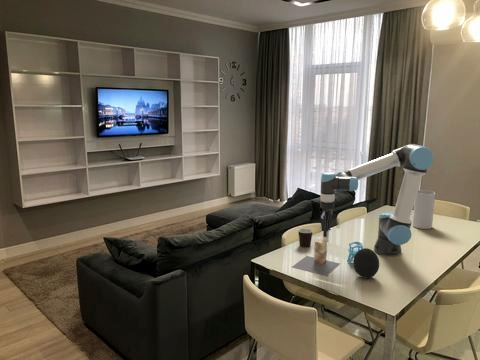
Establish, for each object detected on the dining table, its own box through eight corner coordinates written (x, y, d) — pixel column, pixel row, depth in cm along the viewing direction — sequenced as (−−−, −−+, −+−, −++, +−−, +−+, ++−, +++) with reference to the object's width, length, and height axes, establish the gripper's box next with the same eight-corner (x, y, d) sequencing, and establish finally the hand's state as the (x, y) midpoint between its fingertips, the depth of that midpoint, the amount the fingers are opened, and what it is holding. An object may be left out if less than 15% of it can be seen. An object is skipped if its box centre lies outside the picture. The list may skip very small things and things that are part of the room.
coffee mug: (308, 249, 233) (309, 234, 231) (295, 247, 237) (296, 231, 235) (316, 244, 242) (316, 228, 241) (303, 241, 247) (303, 226, 245)
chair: (345, 260, 217) (346, 240, 214) (360, 260, 216) (361, 240, 214) (349, 266, 209) (349, 245, 207) (364, 266, 209) (365, 245, 207)
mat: (340, 264, 211) (340, 263, 211) (326, 277, 196) (326, 276, 196) (306, 256, 223) (306, 255, 222) (291, 268, 207) (291, 267, 207)
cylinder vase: (433, 225, 276) (436, 191, 271) (430, 230, 266) (434, 195, 261) (414, 223, 283) (416, 189, 278) (411, 227, 272) (413, 192, 268)
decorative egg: (382, 282, 190) (384, 253, 187) (358, 283, 189) (359, 254, 186) (372, 271, 202) (373, 244, 200) (349, 272, 201) (350, 245, 199)
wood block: (326, 261, 214) (327, 240, 212) (322, 264, 210) (323, 243, 208) (317, 259, 217) (318, 238, 215) (314, 262, 213) (314, 241, 211)
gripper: (325, 197, 220) (324, 237, 225) (315, 202, 210) (314, 243, 215) (338, 199, 216) (336, 239, 221) (329, 204, 206) (327, 246, 210)
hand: (325, 241), depth 218 cm, fingers closed
